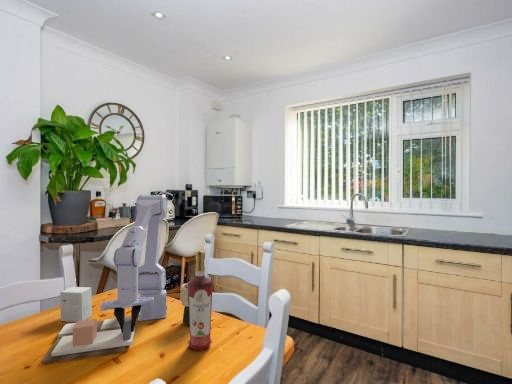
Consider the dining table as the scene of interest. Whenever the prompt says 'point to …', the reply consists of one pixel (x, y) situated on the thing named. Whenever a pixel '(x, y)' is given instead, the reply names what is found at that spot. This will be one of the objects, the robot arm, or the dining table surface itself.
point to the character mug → (185, 302)
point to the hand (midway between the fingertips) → (128, 331)
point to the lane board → (68, 331)
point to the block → (84, 332)
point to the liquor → (200, 306)
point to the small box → (76, 304)
